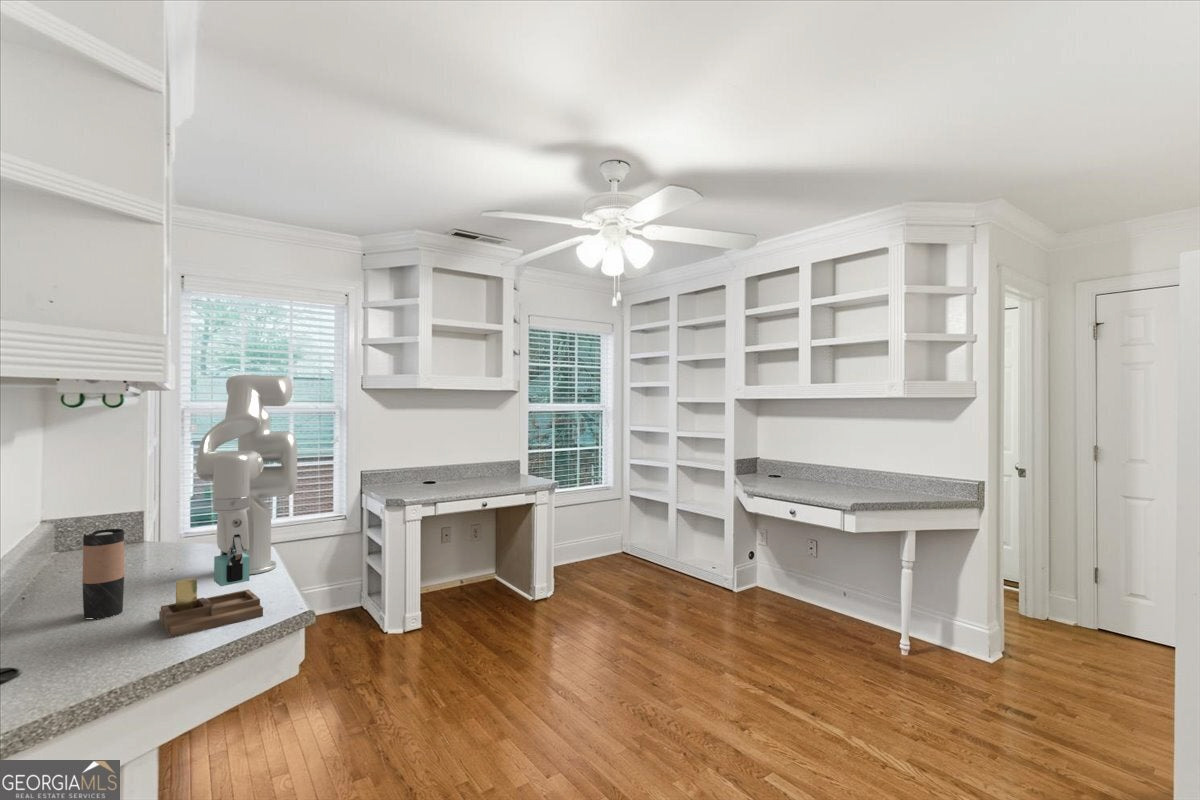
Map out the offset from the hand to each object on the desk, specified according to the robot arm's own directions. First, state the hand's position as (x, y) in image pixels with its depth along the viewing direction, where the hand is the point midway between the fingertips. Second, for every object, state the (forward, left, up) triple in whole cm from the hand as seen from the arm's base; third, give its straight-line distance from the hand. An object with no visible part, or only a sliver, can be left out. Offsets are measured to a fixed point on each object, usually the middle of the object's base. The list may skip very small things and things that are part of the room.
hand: (231, 577), depth 139 cm
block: (0, 0, -1) cm, 1 cm away
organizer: (0, -4, -9) cm, 10 cm away
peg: (0, -9, -7) cm, 11 cm away
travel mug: (-21, -22, -9) cm, 32 cm away
